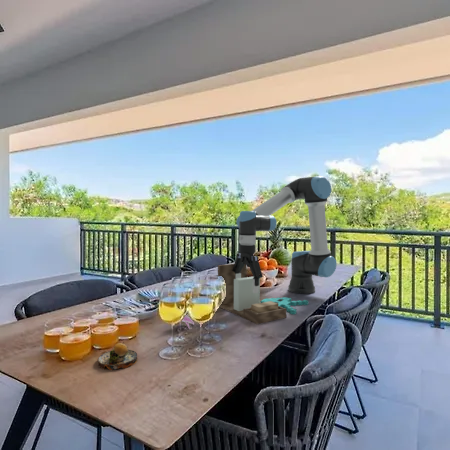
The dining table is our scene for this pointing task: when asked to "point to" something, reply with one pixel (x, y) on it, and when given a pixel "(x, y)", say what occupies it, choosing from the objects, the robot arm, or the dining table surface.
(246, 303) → the sage sheet
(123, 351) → the small appetizer plate
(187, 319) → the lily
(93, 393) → the dining table surface
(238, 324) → the dining table surface
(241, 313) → the rack
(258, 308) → the upper offcut
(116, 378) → the dining table surface
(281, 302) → the teal pixel art cutout
